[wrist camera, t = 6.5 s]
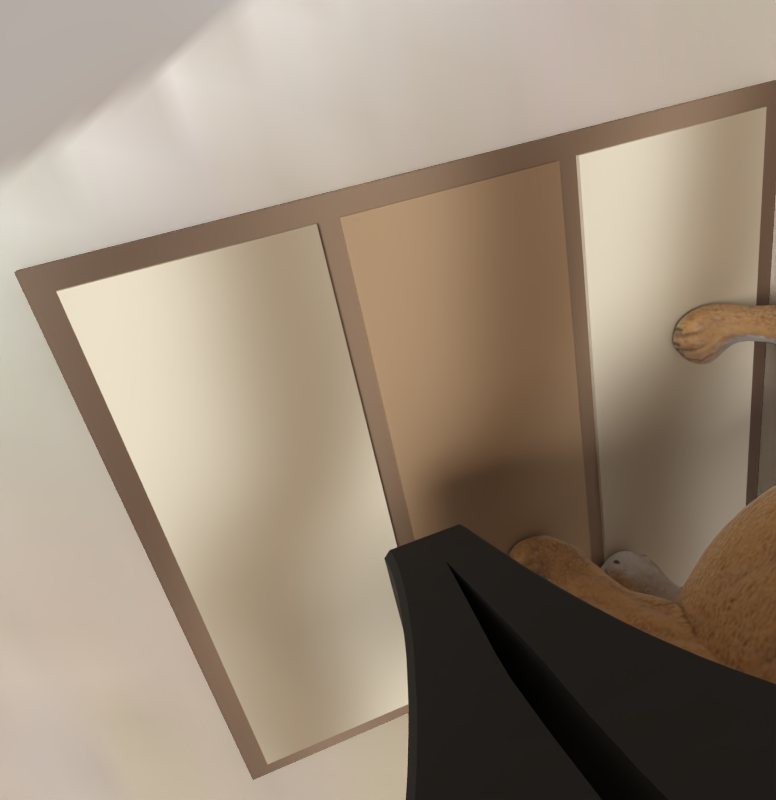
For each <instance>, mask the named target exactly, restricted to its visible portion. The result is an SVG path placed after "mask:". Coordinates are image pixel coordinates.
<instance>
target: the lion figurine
mask: <svg viewBox="0 0 776 800" xmlns="http://www.w3.org/2000/svg"><path fill="white" fill-rule="evenodd" d="M744 341H759V342H770V343H773V344H776V305H762V306H743V305H733V304H712V305H707V306H702V307H700V308H697V309H695V310H693V311H691V312H689V313H688V314H686V315H685V316H684V317H683V318H682V319H681V320H680V321H679V322H678V324H677V326H676V329H675V332H674V336H673V344H674V347H675V349H676V350H677V351H678V352H679V353H680V354H681V355H682V357H683V358H684V359H686V360H688V361H690V362H693V363H695V364H700V365H701V364H708V363H711V362H712V361H714V360H715V359H717V358H718V357H719V356H720V355H721V354H722V353H723V352H724V351H725V350H726V349H727V348H728V347H730V346H731V345H733V344H736V343H738V342H744ZM509 557H511V558H513V559H514V560H516V561H517V562H519V563H520V564H522V565H523V566H525V567H527V568H528V569H530V570H532V571H533V572H535V573H536V574H538V575H540V576H542V577H543V578H545V579H547V580H548V579H550V580H551V582H552V583H553V584H555V585H557V586H559V587H560V588H562V589H564V590H565V591H567V592H569V593H571V594H572V595H574V596H576V597H578V598H580V599H581V600H583V601H585V602H587V603H589V604H590V605H592V606H594V607H596V608H598V609H600V610H602V611H604V612H606V613H608V614H610V615H612V616H614V617H615V618H617V619H619V620H621V621H623V622H625V623H627V624H629V625H631V626H633V627H636V628H638V629H640V630H642V631H644V632H646V633H648V634H650V635H652V636H655V637H657V638H659V639H661V640H663V641H666V642H668V643H670V644H673V645H675V646H677V647H680V648H682V649H684V650H687V651H689V652H691V653H694V654H696V655H698V656H701V657H703V658H706V659H708V660H711V661H714V662H716V663H719V664H721V665H724V666H727V667H729V668H732V669H735V670H737V671H740V672H743V673H746V674H749V675H752V676H755V677H758V678H760V679H763V680H766V681H769V682H772V683H775V684H776V485H775V486H773V487H771V488H769V489H768V490H766V491H765V492H764V493H763V494H761V495H760V496H759V497H757V498H756V499H755V500H753V501H752V502H751V503H749V504H748V505H747V506H746V507H744V508H743V509H742V510H741V511H740V512H739V513H738V514H737V515H736V516H735V517H734V518H733V519H732V520H731V521H730V522H729V523H728V524H726V525H725V526H724V528H723V529H722V530H721V531H720V532H719V533H718V535H717V536H716V537H715V538H714V539H713V541H712V542H711V543H710V545H709V546H708V547H707V548H706V550H705V551H704V553H703V554H702V556H701V558H700V559H699V561H698V562H697V564H696V566H695V567H694V569H693V570H692V572H691V574H690V575H689V577H688V579H687V580H686V582H685V584H684V585H683V587H682V589H681V588H680V587H679V586H678V585H676V584H675V583H674V582H672V581H671V580H670V579H669V578H668V577H667V576H666V575H665V574H664V573H663V572H662V570H661V569H660V568H659V566H658V565H657V564H656V563H655V562H654V561H653V560H652V559H650V558H649V557H647V556H646V555H641V556H639V555H637V554H635V553H633V552H630V551H620V552H617V553H615V554H613V555H612V556H610V557H609V558H608V559H607V560H606V562H605V563H604V564H603V565H602V566H601V568H599V567H598V566H597V565H596V564H594V563H593V562H592V561H590V560H589V558H588V557H587V556H586V554H585V553H584V552H583V551H582V550H581V549H580V548H579V547H577V546H575V545H572V544H569V543H566V542H563V541H561V540H558V539H556V538H553V537H550V536H547V535H542V536H536V537H531V538H528V539H525V540H522V541H520V542H518V543H517V544H516V545H515V546H514V547H513V549H512V550H511V551H510V553H509Z"/></svg>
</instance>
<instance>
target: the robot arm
mask: <svg viewBox="0 0 776 800" xmlns="http://www.w3.org/2000/svg"><path fill="white" fill-rule="evenodd" d="M384 559H385V563H386V566H387V570H388V574H389V578H390V581H391V585H392V589H393V593H394V597H395V600H396V604H397V608H398V612H399V616H400V619H401V623H402V627H403V631H404V639H405V648H406V659H407V682H408V707H409V738H408V773H407V792H406V800H776V684H775V683H772V682H769V681H766V680H763V679H760V678H758V677H755V676H752V675H749V674H746V673H743V672H740V671H737V670H735V669H732V668H729V667H727V666H724V665H721V664H719V663H716V662H714V661H711V660H708V659H706V658H703V657H701V656H698V655H696V654H694V653H691V652H689V651H687V650H684V649H682V648H680V647H677V646H675V645H673V644H670V643H668V642H666V641H663V640H661V639H659V638H657V637H655V636H652V635H650V634H648V633H646V632H644V631H642V630H640V629H638V628H636V627H633V626H631V625H629V624H627V623H625V622H623V621H621V620H619V619H617V618H615V617H614V616H612V615H610V614H608V613H606V612H604V611H602V610H600V609H598V608H596V607H594V606H592V605H590V604H589V603H587V602H585V601H583V600H581V599H580V598H578V597H576V596H574V595H572V594H571V593H569V592H567V591H565V590H564V589H562V588H560V587H559V586H557V585H555V584H553V583H552V582H550V581H548V580H547V579H545V578H543V577H542V576H540V575H538V574H536V573H535V572H533V571H532V570H530V569H528V568H527V567H525V566H523V565H522V564H520V563H519V562H517V561H516V560H514V559H513V558H511V557H509V556H508V555H506V554H505V553H503V552H502V551H500V550H499V549H497V548H496V547H494V546H493V545H491V544H490V543H488V542H487V541H485V540H484V539H482V538H481V537H479V536H478V535H476V534H475V533H473V532H472V531H471V530H469V529H468V528H466V527H464V526H462V525H460V524H458V525H456V526H453V527H450V528H448V529H445V530H442V531H440V532H437V533H434V534H431V535H429V536H426V537H423V538H421V539H418V540H415V541H413V542H410V543H407V544H405V545H402V546H399V547H396V548H394V549H391V550H389V552H388V553H387V555H386V556H385V558H384Z"/></svg>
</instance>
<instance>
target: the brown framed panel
mask: <svg viewBox="0 0 776 800" xmlns="http://www.w3.org/2000/svg"><path fill="white" fill-rule="evenodd" d="M775 195H776V80H774V81H770V82H766V83H762V84H758V85H754V86H750V87H746V88H742V89H738V90H734V91H730V92H726V93H722V94H718V95H714V96H710V97H706V98H702V99H698V100H694V101H690V102H686V103H682V104H678V105H674V106H670V107H666V108H662V109H658V110H654V111H650V112H646V113H642V114H638V115H634V116H630V117H626V118H622V119H618V120H614V121H610V122H606V123H602V124H598V125H594V126H590V127H586V128H582V129H578V130H574V131H571V132H567V133H563V134H559V135H555V136H551V137H547V138H543V139H539V140H535V141H531V142H527V143H523V144H519V145H515V146H511V147H507V148H503V149H499V150H495V151H491V152H487V153H483V154H479V155H475V156H471V157H467V158H463V159H459V160H455V161H451V162H447V163H443V164H439V165H435V166H431V167H427V168H423V169H419V170H415V171H411V172H407V173H403V174H399V175H395V176H391V177H387V178H383V179H379V180H375V181H371V182H367V183H363V184H359V185H355V186H351V187H347V188H343V189H339V190H335V191H331V192H327V193H323V194H319V195H315V196H311V197H308V198H304V199H300V200H296V201H292V202H288V203H284V204H280V205H276V206H272V207H268V208H264V209H260V210H256V211H252V212H248V213H244V214H240V215H236V216H232V217H228V218H224V219H220V220H216V221H212V222H208V223H204V224H200V225H196V226H192V227H188V228H184V229H180V230H176V231H172V232H168V233H164V234H160V235H156V236H152V237H148V238H144V239H140V240H136V241H132V242H128V243H124V244H120V245H116V246H112V247H108V248H104V249H100V250H96V251H92V252H88V253H84V254H80V255H76V256H72V257H68V258H64V259H60V260H56V261H52V262H48V263H44V264H41V265H37V266H33V267H29V268H25V269H21V270H17V271H16V272H14V273H15V275H16V277H17V279H18V281H19V283H20V286H21V288H22V290H23V292H24V294H25V296H26V298H27V300H28V303H29V305H30V307H31V309H32V311H33V313H34V315H35V317H36V320H37V322H38V324H39V326H40V328H41V330H42V332H43V334H44V337H45V339H46V341H47V343H48V345H49V347H50V349H51V351H52V354H53V356H54V358H55V360H56V362H57V364H58V366H59V368H60V371H61V373H62V375H63V377H64V379H65V381H66V383H67V385H68V388H69V390H70V392H71V394H72V396H73V398H74V400H75V402H76V405H77V407H78V409H79V411H80V413H81V415H82V417H83V419H84V422H85V424H86V426H87V428H88V430H89V432H90V434H91V436H92V439H93V441H94V443H95V445H96V447H97V449H98V451H99V453H100V456H101V458H102V460H103V462H104V464H105V466H106V468H107V470H108V473H109V475H110V477H111V479H112V481H113V483H114V485H115V487H116V490H117V492H118V494H119V496H120V498H121V500H122V502H123V504H124V507H125V509H126V511H127V513H128V515H129V517H130V519H131V521H132V524H133V526H134V528H135V530H136V532H137V534H138V536H139V538H140V541H141V543H142V545H143V547H144V549H145V551H146V553H147V555H148V558H149V560H150V562H151V564H152V566H153V568H154V570H155V572H156V575H157V577H158V579H159V581H160V583H161V585H162V587H163V589H164V592H165V594H166V596H167V598H168V600H169V602H170V604H171V606H172V609H173V611H174V613H175V615H176V617H177V619H178V621H179V623H180V626H181V628H182V630H183V632H184V634H185V636H186V638H187V640H188V643H189V645H190V647H191V649H192V651H193V653H194V655H195V657H196V660H197V662H198V664H199V666H200V668H201V670H202V672H203V674H204V677H205V679H206V681H207V683H208V685H209V687H210V689H211V691H212V694H213V696H214V698H215V700H216V702H217V704H218V706H219V708H220V711H221V713H222V715H223V717H224V719H225V721H226V723H227V725H228V728H229V730H230V732H231V734H232V736H233V738H234V740H235V742H236V745H237V747H238V749H239V751H240V753H241V755H242V757H243V759H244V762H245V764H246V766H247V768H248V770H249V772H250V774H251V776H252V779H253V780H254V779H256V778H259V777H261V776H263V775H265V774H268V773H270V772H272V771H275V770H277V769H279V768H282V767H284V766H286V765H289V764H291V763H293V762H296V761H298V760H300V759H303V758H305V757H307V756H309V755H312V754H314V753H316V752H319V751H321V750H323V749H326V748H328V747H330V746H333V745H335V744H337V743H340V742H342V741H344V740H347V739H349V738H351V737H353V736H356V735H358V734H360V733H363V732H365V731H367V730H370V729H372V728H374V727H377V726H379V725H381V724H384V723H386V722H388V721H391V720H393V719H395V718H397V717H400V716H402V715H404V714H407V713H409V707H408V682H407V659H406V648H405V639H404V631H403V627H402V623H401V619H400V616H399V612H398V608H397V604H396V600H395V597H394V593H393V589H392V585H391V581H390V578H389V574H388V570H387V566H386V563H385V559H384V558H385V556H386V555H387V553H388V552H389V550H391V549H394V548H396V547H399V546H402V545H405V544H407V543H410V542H413V541H415V540H418V539H421V538H423V537H426V536H429V535H431V534H434V533H437V532H440V531H442V530H445V529H448V528H450V527H453V526H456V525H458V524H460V525H462V526H464V527H466V528H468V529H469V530H471V531H472V532H473V533H475V534H476V535H478V536H479V537H481V538H482V539H484V540H485V541H487V542H488V543H490V544H491V545H493V546H494V547H496V548H497V549H499V550H500V551H502V552H503V553H505V554H506V555H508V556H509V553H510V551H511V550H512V549H513V547H514V546H515V545H516V544H517V543H518V542H520V541H522V540H525V539H528V538H531V537H536V536H542V535H547V536H550V537H553V538H556V539H558V540H561V541H563V542H566V543H569V544H572V545H575V546H577V547H579V548H580V549H581V550H582V551H583V552H584V553H585V554H586V556H587V557H588V558H589V560H590V561H592V562H593V563H594V564H596V565H597V566H598V567H599V568H601V566H602V565H603V564H604V563H605V562H606V560H607V559H608V558H609V557H610V556H612V555H613V554H615V553H617V552H620V551H630V552H633V553H635V554H637V555H639V556H641V555H646V556H647V557H649V558H650V559H652V560H653V561H654V562H655V563H656V564H657V565H658V566H659V568H660V569H661V570H662V572H663V573H664V574H665V575H666V576H667V577H668V578H669V579H670V580H671V581H672V582H674V583H675V584H676V585H678V586H679V587H680V588H681V589H682V587H683V585H684V584H685V582H686V580H687V579H688V577H689V575H690V574H691V572H692V570H693V569H694V567H695V566H696V564H697V562H698V561H699V559H700V558H701V556H702V554H703V553H704V551H705V550H706V548H707V547H708V546H709V545H710V543H711V542H712V541H713V539H714V538H715V537H716V536H717V535H718V533H719V532H720V531H721V530H722V529H723V528H724V526H725V525H726V524H728V523H729V522H730V521H731V520H732V519H733V518H734V517H735V516H736V515H737V514H738V513H739V512H740V511H741V510H742V509H743V508H744V507H746V506H747V505H748V504H749V503H751V502H752V501H753V500H755V499H756V498H757V487H758V471H759V454H760V438H761V422H762V406H763V390H764V373H765V357H766V342H759V341H744V342H738V343H736V344H733V345H731V346H730V347H728V348H727V349H726V350H725V351H724V352H723V353H722V354H721V355H720V356H719V357H718V358H717V359H715V360H714V361H712V362H711V363H708V364H701V365H700V364H695V363H693V362H690V361H688V360H686V359H684V358H683V357H682V355H681V354H680V353H679V352H678V351H677V350H676V349H675V347H674V344H673V336H674V332H675V329H676V326H677V324H678V322H679V321H680V320H681V319H682V318H683V317H684V316H685V315H686V314H688V313H689V312H691V311H693V310H695V309H697V308H700V307H702V306H707V305H712V304H733V305H743V306H762V305H769V292H770V276H771V260H772V243H773V227H774V211H775ZM548 581H550V582H551V580H550V579H548Z"/></svg>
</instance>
